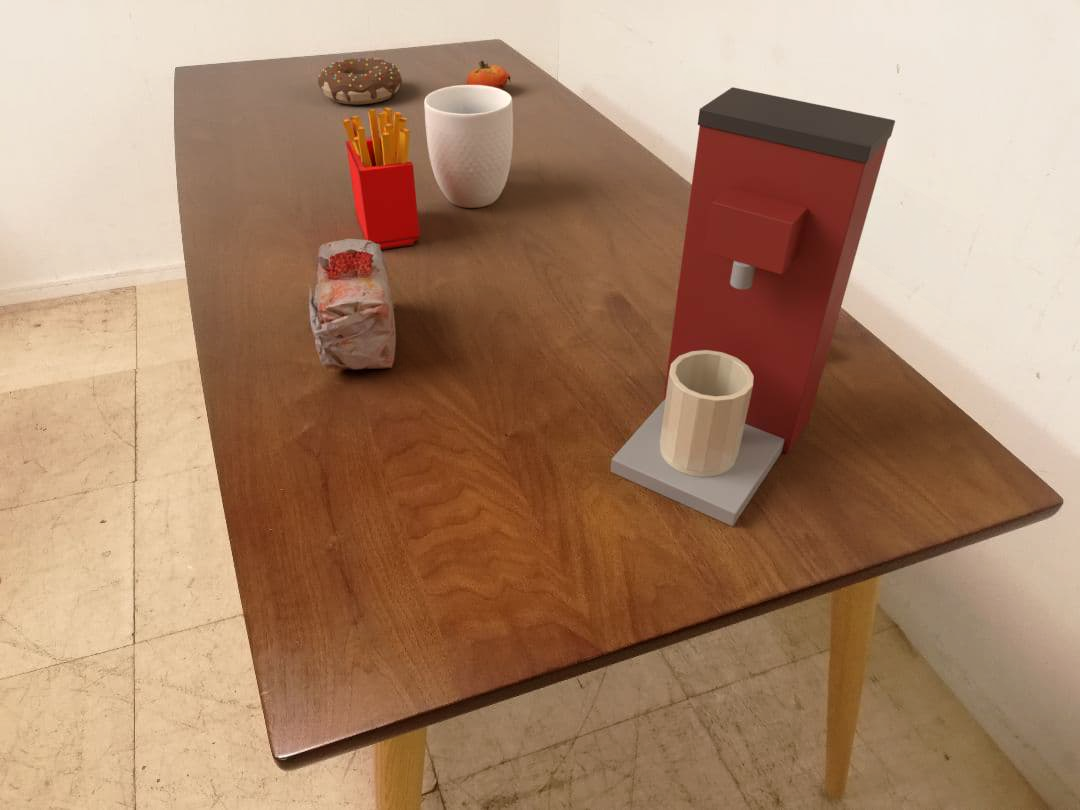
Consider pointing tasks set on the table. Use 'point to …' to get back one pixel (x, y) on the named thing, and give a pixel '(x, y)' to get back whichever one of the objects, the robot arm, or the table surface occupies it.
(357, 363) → the food item
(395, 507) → the table surface
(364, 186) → the french fries container
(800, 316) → the coffee maker
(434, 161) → the mug
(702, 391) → the cream cup
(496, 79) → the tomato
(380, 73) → the donut
